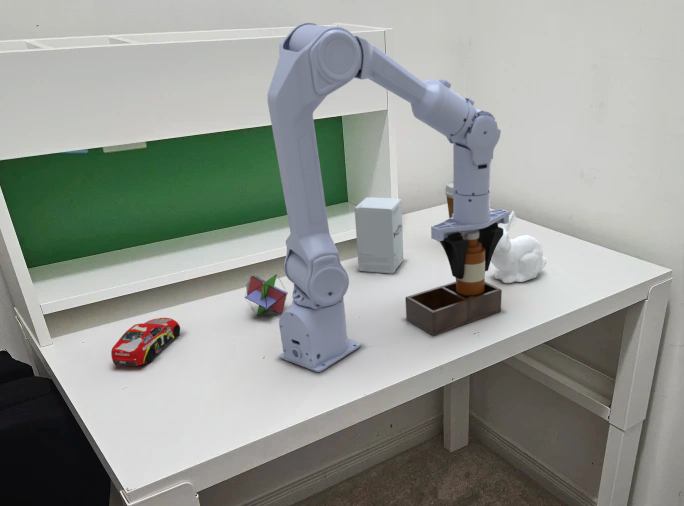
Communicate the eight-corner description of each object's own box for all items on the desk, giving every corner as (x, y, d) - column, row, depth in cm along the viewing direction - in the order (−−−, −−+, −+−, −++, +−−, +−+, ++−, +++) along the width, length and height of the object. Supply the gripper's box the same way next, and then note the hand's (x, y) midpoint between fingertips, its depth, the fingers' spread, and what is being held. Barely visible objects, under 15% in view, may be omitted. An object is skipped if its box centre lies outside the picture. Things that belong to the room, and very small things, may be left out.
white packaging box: (394, 274, 126) (391, 209, 119) (357, 271, 127) (352, 207, 121) (404, 260, 132) (402, 198, 126) (369, 257, 133) (365, 195, 127)
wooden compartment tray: (433, 336, 104) (432, 312, 102) (406, 319, 109) (405, 297, 107) (501, 311, 112) (501, 289, 110) (472, 297, 117) (473, 275, 115)
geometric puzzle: (305, 296, 112) (275, 258, 110) (285, 313, 106) (252, 272, 104) (279, 315, 116) (249, 278, 114) (258, 332, 110) (226, 293, 108)
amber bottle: (474, 298, 108) (476, 238, 102) (450, 291, 110) (450, 232, 105) (489, 288, 111) (491, 229, 106) (465, 281, 113) (466, 224, 108)
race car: (156, 328, 107) (150, 305, 105) (187, 330, 106) (182, 308, 104) (106, 368, 96) (99, 344, 94) (141, 371, 95) (134, 347, 93)
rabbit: (497, 288, 120) (499, 224, 114) (474, 270, 128) (476, 209, 121) (554, 277, 125) (559, 215, 118) (529, 261, 132) (533, 201, 126)
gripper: (490, 178, 108) (487, 256, 116) (418, 193, 101) (420, 276, 108) (519, 187, 104) (515, 268, 111) (446, 204, 96) (447, 289, 103)
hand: (470, 273), depth 109 cm, fingers closed on amber bottle, 5 cm apart
